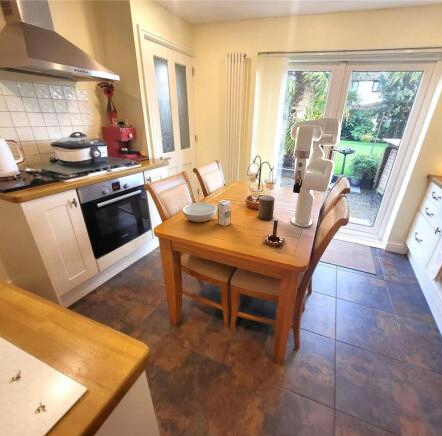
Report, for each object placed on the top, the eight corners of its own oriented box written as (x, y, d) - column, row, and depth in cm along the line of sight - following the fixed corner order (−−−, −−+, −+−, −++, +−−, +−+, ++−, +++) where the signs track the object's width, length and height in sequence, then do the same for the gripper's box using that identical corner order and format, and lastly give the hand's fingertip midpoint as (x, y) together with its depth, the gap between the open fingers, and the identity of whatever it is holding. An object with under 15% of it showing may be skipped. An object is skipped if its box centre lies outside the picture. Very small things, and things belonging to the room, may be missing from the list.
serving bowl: (198, 209, 160) (198, 199, 157) (223, 216, 150) (223, 206, 147) (175, 220, 143) (175, 209, 140) (202, 229, 134) (202, 218, 131)
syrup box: (224, 221, 144) (224, 199, 138) (231, 224, 141) (231, 201, 135) (217, 224, 140) (217, 201, 134) (224, 227, 137) (224, 204, 131)
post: (267, 236, 129) (269, 215, 123) (283, 239, 126) (286, 217, 121) (263, 244, 121) (265, 221, 115) (280, 248, 119) (283, 225, 113)
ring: (266, 235, 127) (267, 233, 127) (283, 238, 125) (284, 236, 124) (263, 243, 119) (263, 241, 119) (280, 247, 117) (281, 244, 116)
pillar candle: (272, 221, 146) (274, 199, 140) (256, 219, 148) (258, 197, 142) (273, 215, 155) (275, 193, 149) (258, 213, 157) (260, 192, 150)
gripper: (309, 158, 99) (303, 196, 106) (311, 152, 114) (306, 186, 121) (291, 156, 101) (287, 194, 108) (296, 150, 116) (291, 184, 123)
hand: (297, 189), depth 115 cm, fingers open, 9 cm apart
